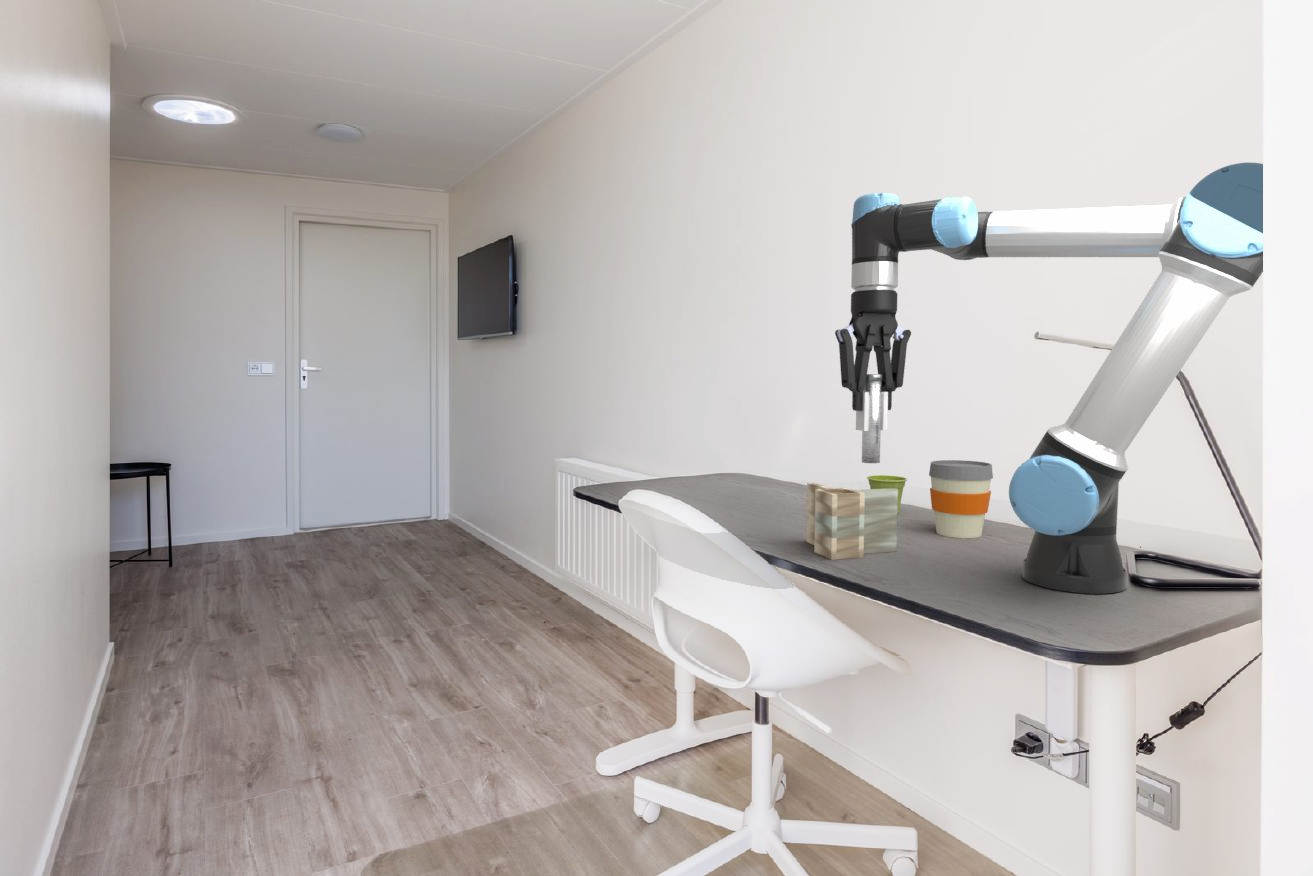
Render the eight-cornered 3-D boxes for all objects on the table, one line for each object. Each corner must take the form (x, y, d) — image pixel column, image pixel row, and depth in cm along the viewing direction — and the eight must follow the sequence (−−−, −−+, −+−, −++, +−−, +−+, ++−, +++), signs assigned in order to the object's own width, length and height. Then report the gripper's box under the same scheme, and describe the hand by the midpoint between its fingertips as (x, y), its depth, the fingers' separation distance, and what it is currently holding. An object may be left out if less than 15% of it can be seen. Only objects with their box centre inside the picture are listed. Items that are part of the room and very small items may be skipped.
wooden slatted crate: (904, 554, 147) (906, 491, 146) (831, 559, 143) (832, 494, 142) (861, 537, 162) (862, 480, 161) (794, 542, 158) (794, 483, 157)
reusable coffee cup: (985, 542, 158) (988, 468, 156) (921, 535, 164) (923, 464, 163) (995, 531, 168) (997, 462, 167) (934, 525, 175) (936, 458, 174)
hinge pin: (884, 463, 133) (886, 374, 132) (867, 463, 132) (869, 374, 131) (873, 461, 136) (875, 374, 135) (857, 461, 135) (859, 374, 134)
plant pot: (906, 510, 194) (907, 475, 193) (906, 517, 185) (907, 481, 184) (867, 508, 197) (867, 474, 196) (865, 515, 188) (866, 479, 187)
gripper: (902, 293, 137) (899, 427, 139) (820, 291, 133) (818, 429, 135) (929, 289, 130) (925, 430, 132) (842, 286, 126) (840, 432, 128)
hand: (871, 429), depth 133 cm, fingers closed on hinge pin, 3 cm apart
